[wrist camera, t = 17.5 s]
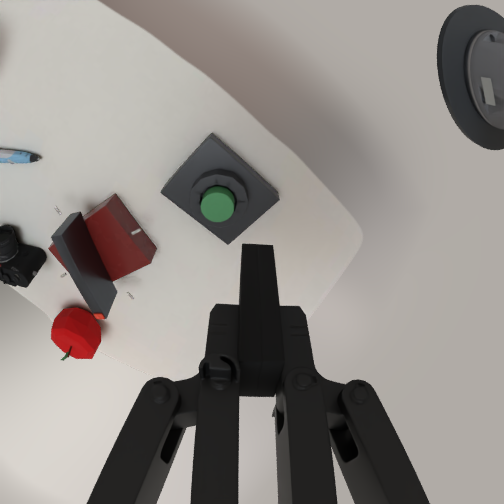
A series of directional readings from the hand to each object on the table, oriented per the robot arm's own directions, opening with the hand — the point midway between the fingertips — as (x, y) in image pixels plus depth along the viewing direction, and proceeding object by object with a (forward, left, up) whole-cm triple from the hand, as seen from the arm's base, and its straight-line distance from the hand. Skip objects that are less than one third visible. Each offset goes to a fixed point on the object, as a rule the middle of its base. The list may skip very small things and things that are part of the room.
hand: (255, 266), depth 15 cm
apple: (+31, +33, -22) cm, 50 cm away
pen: (+39, -2, -22) cm, 44 cm away
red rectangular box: (+21, +14, -22) cm, 33 cm away
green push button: (+3, +5, -18) cm, 19 cm away
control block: (+3, +5, -22) cm, 22 cm away
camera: (+40, +15, -22) cm, 48 cm away
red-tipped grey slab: (+21, +14, -18) cm, 31 cm away
